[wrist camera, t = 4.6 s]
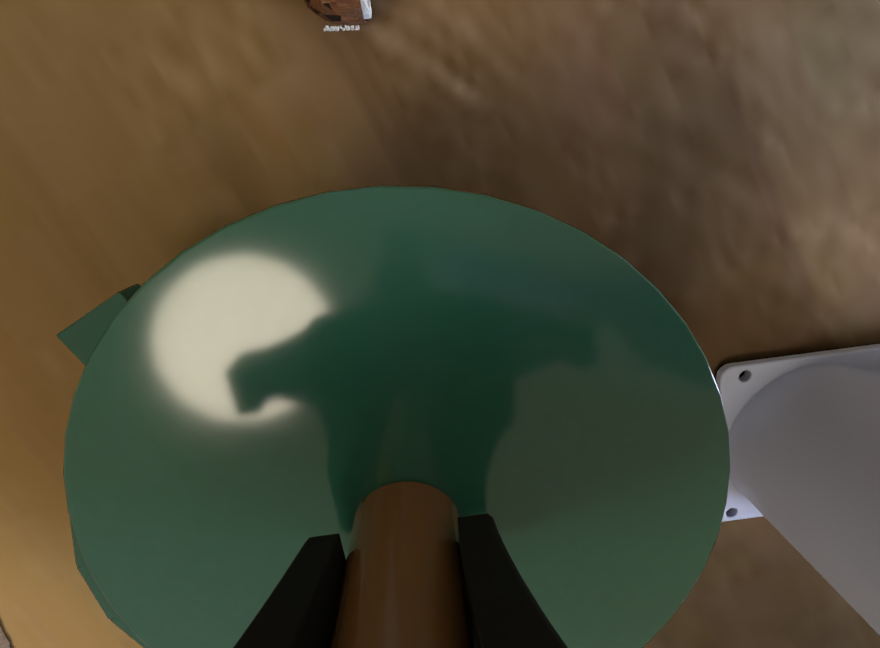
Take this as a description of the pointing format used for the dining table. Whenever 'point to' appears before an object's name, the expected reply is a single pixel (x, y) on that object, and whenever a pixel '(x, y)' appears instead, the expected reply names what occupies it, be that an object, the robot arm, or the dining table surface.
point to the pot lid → (396, 425)
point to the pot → (82, 343)
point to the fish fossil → (3, 640)
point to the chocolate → (342, 12)
